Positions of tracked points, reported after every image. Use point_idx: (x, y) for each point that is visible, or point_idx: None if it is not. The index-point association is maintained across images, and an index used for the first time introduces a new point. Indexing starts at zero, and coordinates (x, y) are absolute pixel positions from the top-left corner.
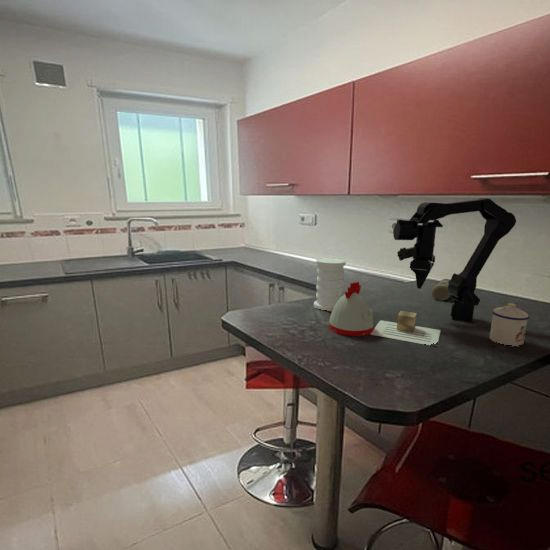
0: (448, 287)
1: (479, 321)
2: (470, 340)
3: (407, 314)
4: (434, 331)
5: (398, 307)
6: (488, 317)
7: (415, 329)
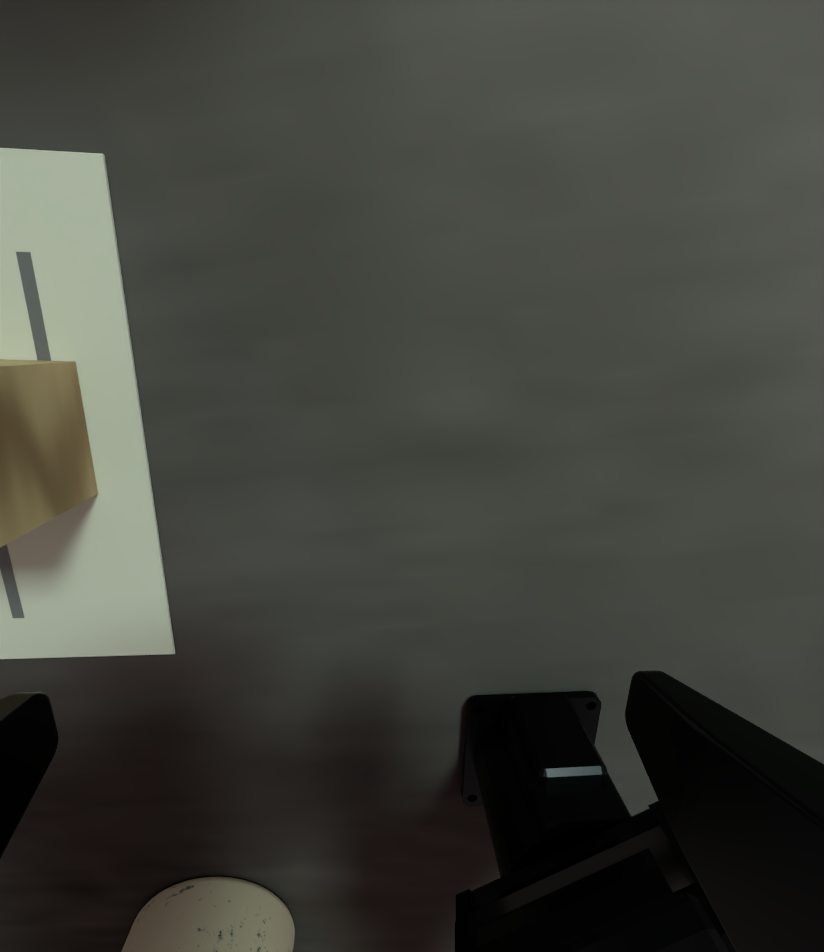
0: (683, 930)
1: None
2: (99, 803)
3: None
4: (113, 623)
5: (656, 274)
6: None
7: None
